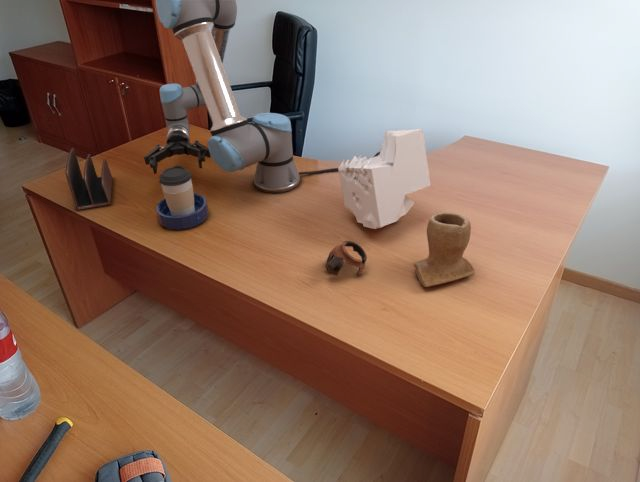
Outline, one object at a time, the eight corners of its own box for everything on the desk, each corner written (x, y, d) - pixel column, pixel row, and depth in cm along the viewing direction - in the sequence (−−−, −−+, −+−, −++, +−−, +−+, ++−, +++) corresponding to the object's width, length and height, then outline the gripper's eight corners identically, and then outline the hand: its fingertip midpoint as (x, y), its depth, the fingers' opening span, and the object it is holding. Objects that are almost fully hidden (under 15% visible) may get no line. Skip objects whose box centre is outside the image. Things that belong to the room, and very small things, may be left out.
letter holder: (77, 211, 152) (62, 170, 144) (82, 183, 167) (69, 144, 159) (110, 205, 154) (97, 164, 146) (112, 178, 170) (101, 140, 162)
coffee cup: (191, 224, 142) (181, 179, 133) (162, 222, 144) (151, 176, 135) (203, 209, 149) (195, 164, 141) (176, 206, 151) (166, 162, 142)
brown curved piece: (333, 255, 130) (349, 233, 125) (359, 279, 127) (376, 258, 123) (309, 269, 120) (326, 246, 115) (336, 296, 118) (354, 273, 113)
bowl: (211, 204, 153) (209, 191, 150) (204, 229, 141) (202, 216, 138) (165, 206, 152) (162, 193, 150) (154, 232, 140) (150, 218, 138)
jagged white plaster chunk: (379, 240, 129) (362, 146, 122) (346, 231, 143) (329, 147, 135) (435, 217, 138) (423, 129, 131) (399, 211, 152) (386, 131, 144)
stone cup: (453, 252, 128) (461, 202, 120) (479, 278, 119) (490, 227, 110) (401, 264, 124) (405, 214, 116) (424, 293, 115) (431, 241, 107)
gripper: (217, 146, 169) (220, 172, 152) (142, 155, 165) (137, 183, 148) (213, 125, 165) (216, 150, 148) (137, 134, 161) (131, 160, 144)
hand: (177, 167), depth 148 cm, fingers open, 13 cm apart
